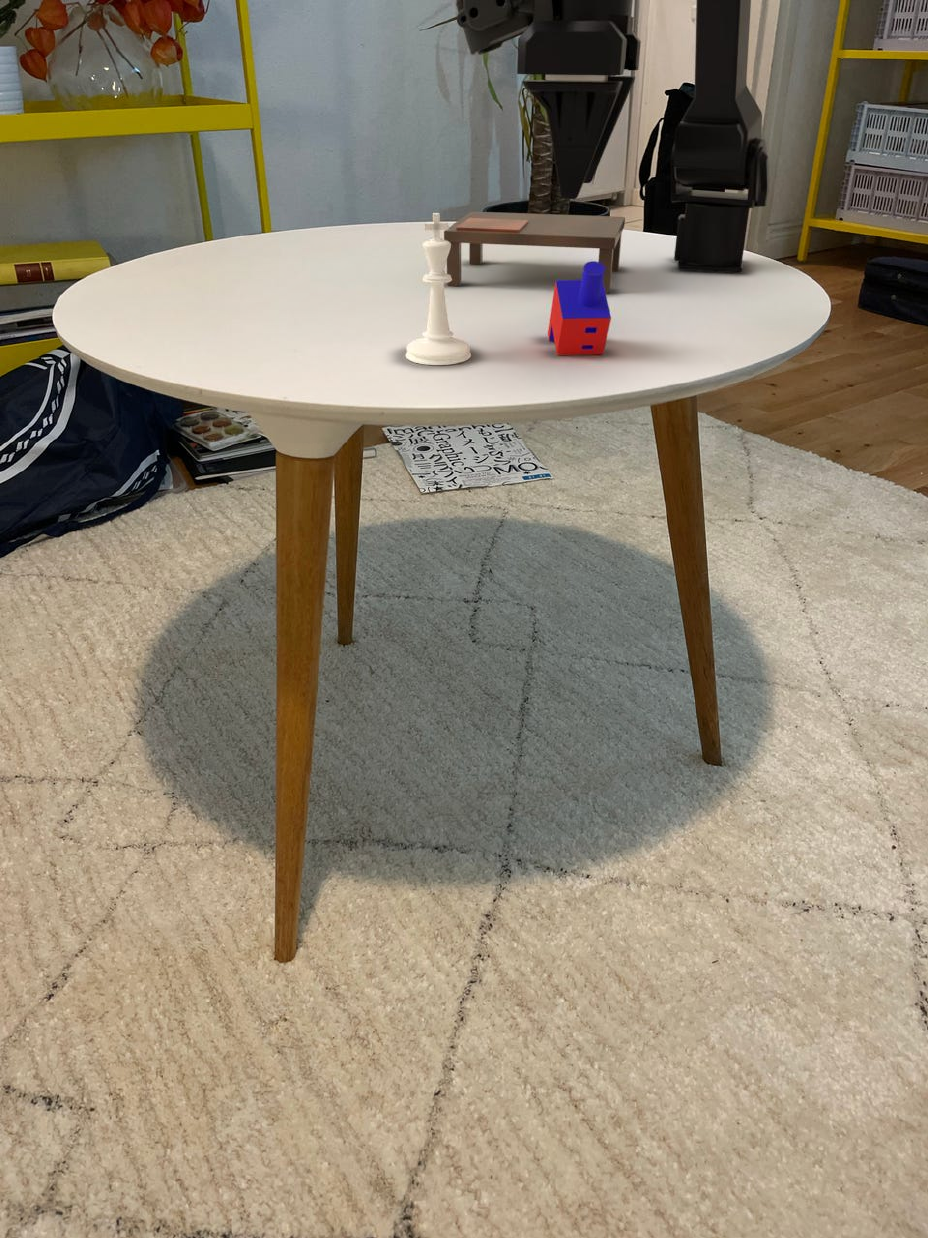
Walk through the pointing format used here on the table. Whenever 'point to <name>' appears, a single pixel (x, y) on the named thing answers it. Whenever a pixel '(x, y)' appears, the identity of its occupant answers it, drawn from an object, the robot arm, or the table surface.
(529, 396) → the table surface
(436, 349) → the chess piece
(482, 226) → the miniature wooden table
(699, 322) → the table surface
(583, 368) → the table surface
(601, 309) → the toy building block
